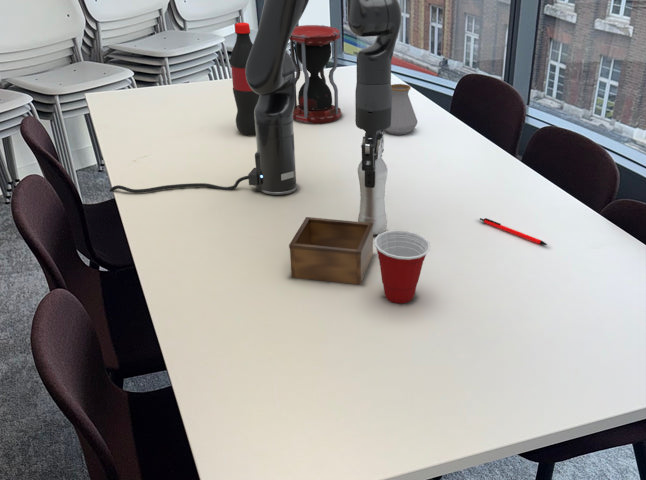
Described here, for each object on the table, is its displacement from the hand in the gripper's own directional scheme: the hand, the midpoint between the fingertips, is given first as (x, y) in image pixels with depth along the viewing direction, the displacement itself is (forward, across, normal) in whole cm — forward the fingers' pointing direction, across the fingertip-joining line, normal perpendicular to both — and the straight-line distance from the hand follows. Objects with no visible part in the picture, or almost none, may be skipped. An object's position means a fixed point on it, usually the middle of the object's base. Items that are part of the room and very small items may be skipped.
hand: (372, 180), depth 168 cm
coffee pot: (+13, -76, -8) cm, 77 cm away
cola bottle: (+12, -60, -48) cm, 78 cm away
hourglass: (+12, -80, -33) cm, 87 cm away
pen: (+12, -6, +32) cm, 35 cm away
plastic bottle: (+12, 0, 0) cm, 12 cm away
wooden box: (+12, +18, -5) cm, 22 cm away
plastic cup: (+12, +28, +11) cm, 33 cm away
